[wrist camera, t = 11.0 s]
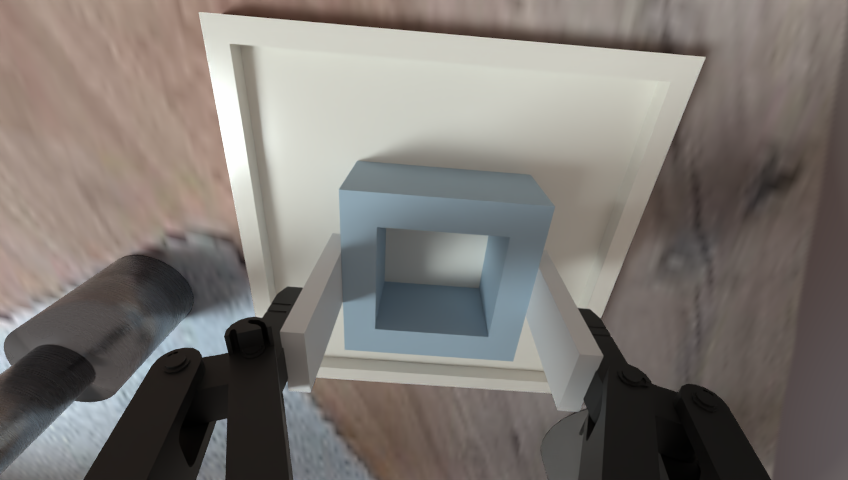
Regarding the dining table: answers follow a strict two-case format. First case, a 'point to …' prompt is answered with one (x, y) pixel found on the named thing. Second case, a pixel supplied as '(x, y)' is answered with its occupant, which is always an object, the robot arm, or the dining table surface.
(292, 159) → the tray
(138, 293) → the pestle
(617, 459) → the robot arm
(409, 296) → the ring
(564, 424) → the coffee mug
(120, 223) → the dining table surface
